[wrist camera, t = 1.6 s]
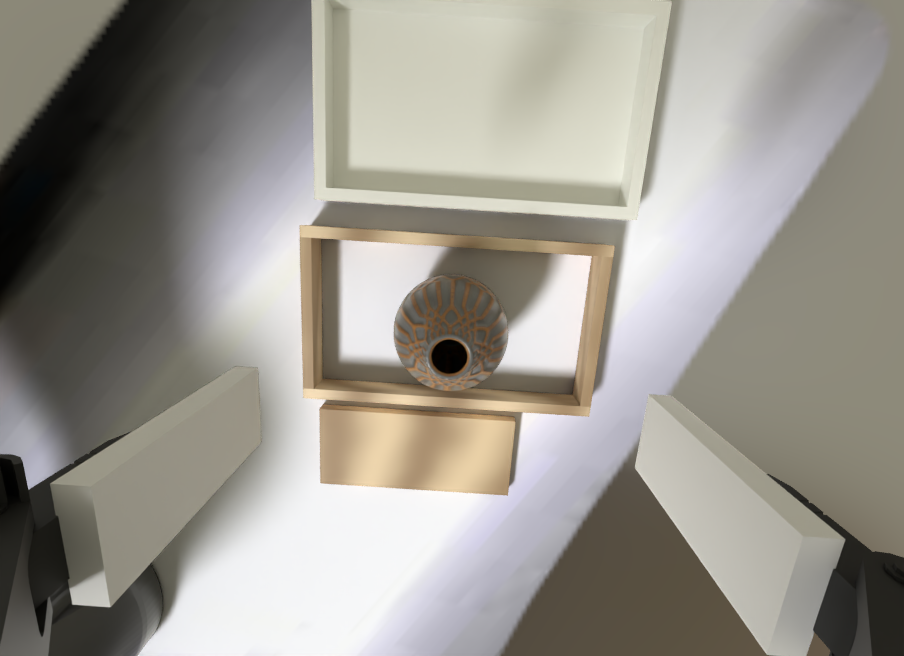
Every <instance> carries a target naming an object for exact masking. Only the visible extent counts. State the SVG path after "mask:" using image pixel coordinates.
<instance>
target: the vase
mask: <svg viewBox="0 0 904 656" xmlns="http://www.w3.org/2000/svg"><path fill="white" fill-rule="evenodd" d="M507 342H508V322H507V318H506V315H505V312H504V309H503V307H502V305H501V303H500V302H499V300H498V299H497V297H496V296H495V295H494V294H493V292H492V291H491V290H490V289H489V288H487V287H486V286H485V285H483V284H482V283H480V282H479V281H477V280H475V279H473V278H470V277H467V276H463V275H457V274H445V275H439V276H435V277H432V278H430V279H428V280H425V281H424V282H422V283H420V284H419V285H417V286H416V287H415V288H414V289H413V290H412V291H411V292H410V293H409V294H408V295H407V296H406V297H405V299H404V300H403V302H402V304H401V305H400V307H399V310H398V312H397V315H396V318H395V323H394V343H395V347H396V350H397V353H398V356H399V358H400V360H401V362H402V364H403V365H404V367H405V368H406V369H407V371H408V372H409V373H410V374H411V375H412V376H413V377H414V378H416V379H417V380H418V381H420V382H421V383H423V384H425V385H426V386H429V387H431V388H434V389H438V390H443V391H459V390H464V389H468V388H471V387H473V386H475V385H477V384H479V383H481V382H482V381H484V380H485V379H486V378H487V377H489V376H490V375H491V374H492V373H493V372H494V370H495V369H496V368H497V367H498V365H499V363H500V362H501V360H502V358H503V356H504V353H505V351H506V347H507Z"/></svg>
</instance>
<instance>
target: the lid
mask: <svg viewBox="0 0 904 656" xmlns="http://www.w3.org/2000/svg"><path fill="white" fill-rule="evenodd" d="M515 423H516V421H515V418H514V417H511V416H495V415H480V414H465V413H449V412H434V411H418V410H403V409H387V408H372V407H357V406H341V405H326V404H323V405H322V406H321V408H320V483H325V484H340V485H355V486H371V487H386V488H402V489H417V490H432V491H448V492H463V493H479V494H494V495H508V488H509V479H510V470H511V461H512V451H513V442H514V433H515Z"/></svg>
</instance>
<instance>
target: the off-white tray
mask: <svg viewBox="0 0 904 656" xmlns="http://www.w3.org/2000/svg"><path fill="white" fill-rule="evenodd" d="M671 6H672V1H665V0H312V67H313V139H314V199H317V200H323V201H333V202H349V203H364V204H380V205H395V206H411V207H426V208H441V209H457V210H472V211H488V212H503V213H519V214H534V215H550V216H565V217H581V218H596V219H612V220H637V216H638V210H639V204H640V198H641V191H642V185H643V179H644V173H645V167H646V161H647V154H648V148H649V142H650V136H651V130H652V123H653V117H654V111H655V105H656V99H657V92H658V86H659V80H660V74H661V68H662V61H663V55H664V49H665V43H666V37H667V30H668V24H669V18H670V12H671Z"/></svg>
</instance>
